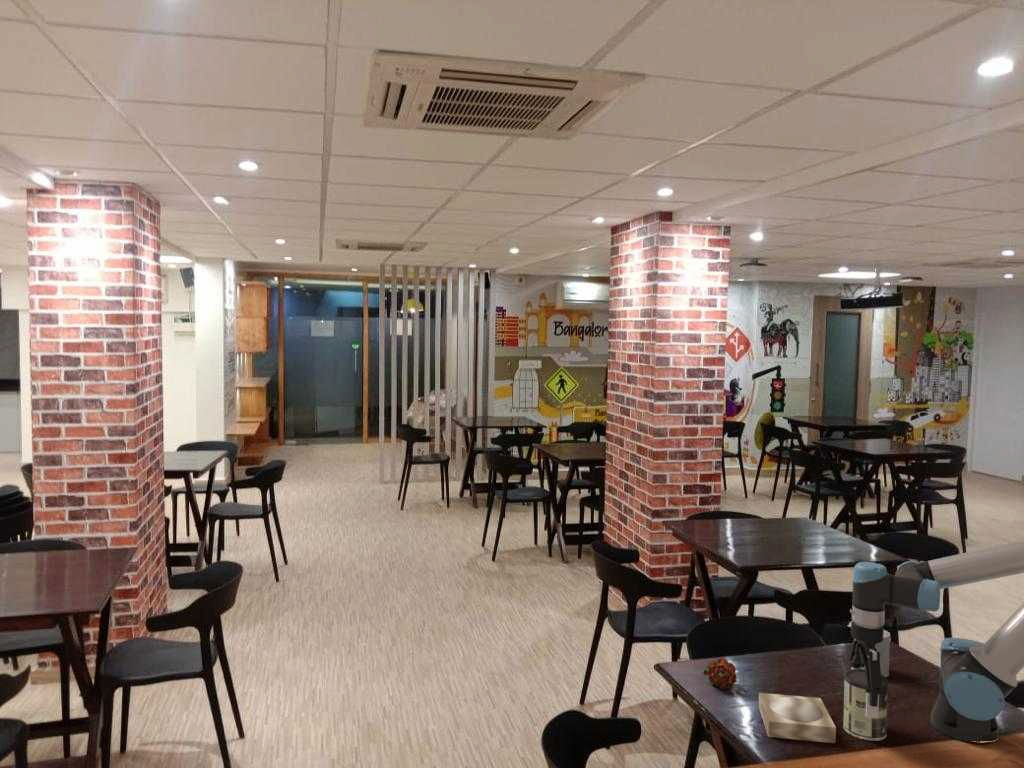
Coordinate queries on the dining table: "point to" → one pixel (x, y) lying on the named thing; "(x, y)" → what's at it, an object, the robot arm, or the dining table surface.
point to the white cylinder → (884, 653)
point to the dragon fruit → (721, 673)
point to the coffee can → (863, 707)
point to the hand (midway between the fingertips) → (863, 704)
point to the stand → (796, 718)
